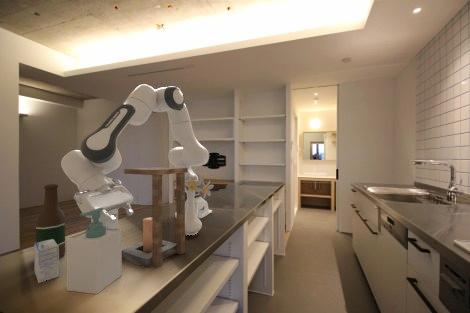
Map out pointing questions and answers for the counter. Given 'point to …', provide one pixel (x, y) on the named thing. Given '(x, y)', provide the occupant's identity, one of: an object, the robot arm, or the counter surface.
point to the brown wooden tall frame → (160, 220)
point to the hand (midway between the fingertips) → (122, 217)
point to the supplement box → (111, 225)
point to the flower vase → (191, 219)
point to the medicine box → (46, 260)
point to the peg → (147, 235)
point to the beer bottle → (51, 220)
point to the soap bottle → (94, 257)
